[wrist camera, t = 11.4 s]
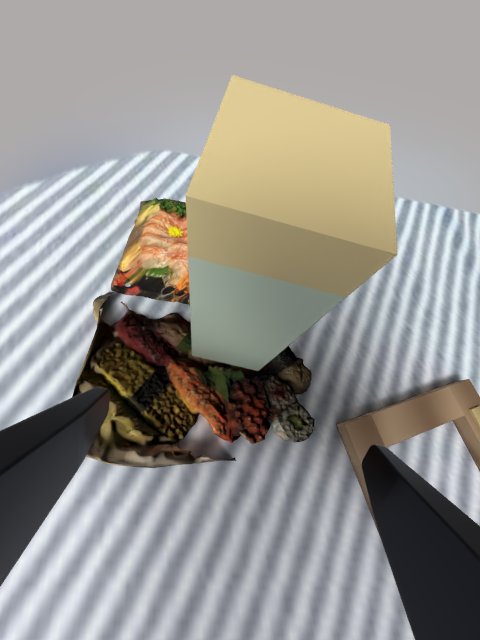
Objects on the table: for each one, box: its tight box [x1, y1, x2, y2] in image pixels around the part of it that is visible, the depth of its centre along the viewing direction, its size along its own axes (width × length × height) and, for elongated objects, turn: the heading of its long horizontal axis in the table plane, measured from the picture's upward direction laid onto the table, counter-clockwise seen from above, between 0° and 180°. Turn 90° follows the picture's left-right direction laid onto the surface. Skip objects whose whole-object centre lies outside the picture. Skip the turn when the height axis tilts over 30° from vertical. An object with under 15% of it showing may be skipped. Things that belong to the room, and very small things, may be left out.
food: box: [72, 198, 315, 468], centre depth 20 cm, size 22×19×4 cm
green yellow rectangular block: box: [186, 75, 397, 371], centre depth 12 cm, size 4×4×13 cm
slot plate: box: [336, 379, 480, 535], centre depth 18 cm, size 12×12×1 cm
